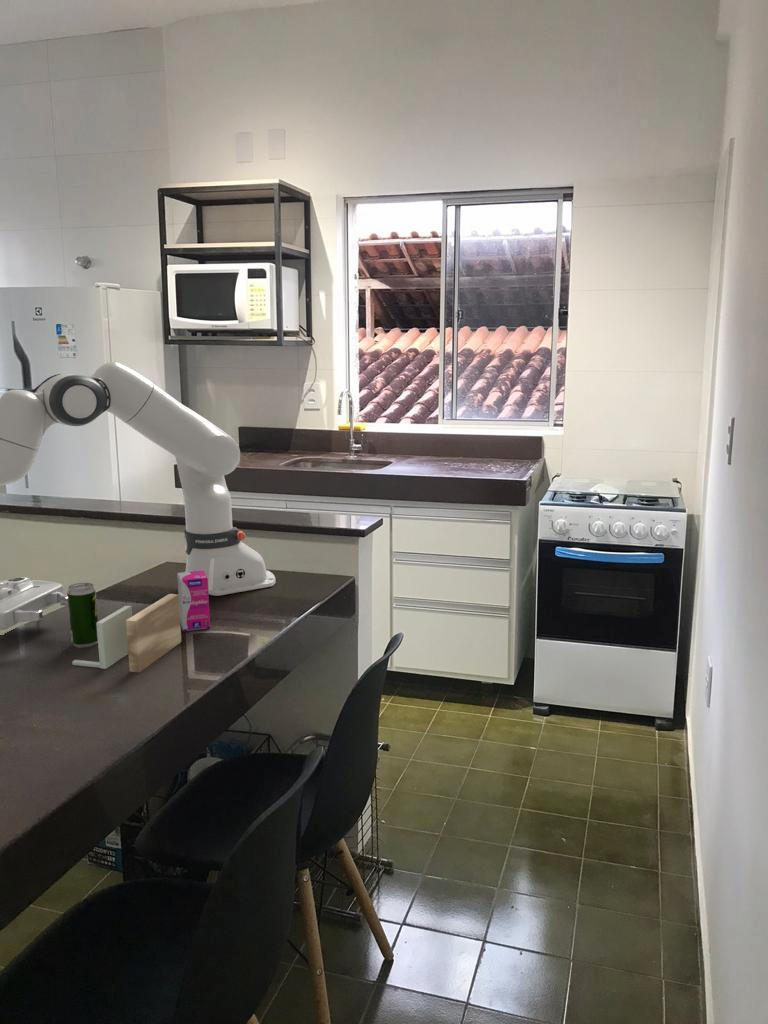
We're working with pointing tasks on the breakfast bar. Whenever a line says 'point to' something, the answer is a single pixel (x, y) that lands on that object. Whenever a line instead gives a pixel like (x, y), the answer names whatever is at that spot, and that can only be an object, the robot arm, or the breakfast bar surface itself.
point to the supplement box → (193, 600)
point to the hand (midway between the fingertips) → (55, 608)
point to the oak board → (153, 632)
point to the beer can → (83, 614)
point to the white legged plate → (110, 639)
